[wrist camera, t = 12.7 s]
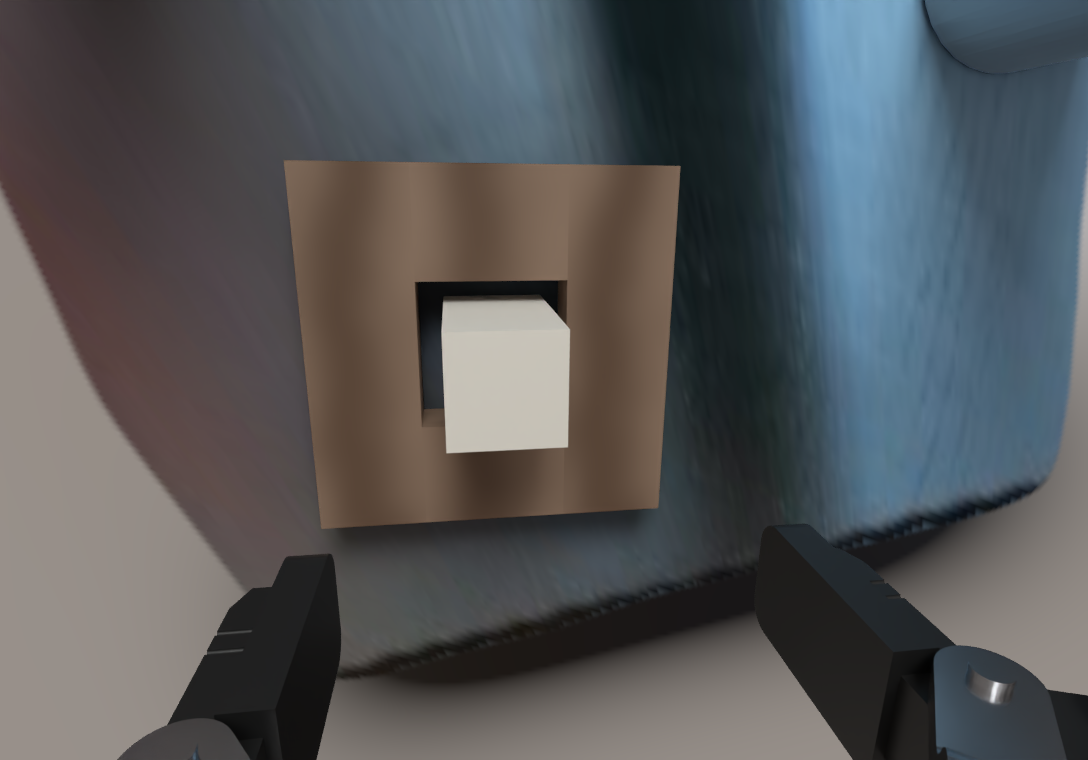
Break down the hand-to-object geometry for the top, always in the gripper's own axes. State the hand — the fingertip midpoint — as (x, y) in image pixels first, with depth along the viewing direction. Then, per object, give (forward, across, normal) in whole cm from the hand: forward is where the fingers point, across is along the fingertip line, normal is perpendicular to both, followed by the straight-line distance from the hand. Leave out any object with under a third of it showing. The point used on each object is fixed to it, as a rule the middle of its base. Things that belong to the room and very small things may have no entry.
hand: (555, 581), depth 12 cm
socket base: (+20, 0, 0) cm, 20 cm away
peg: (+20, 0, 0) cm, 20 cm away
